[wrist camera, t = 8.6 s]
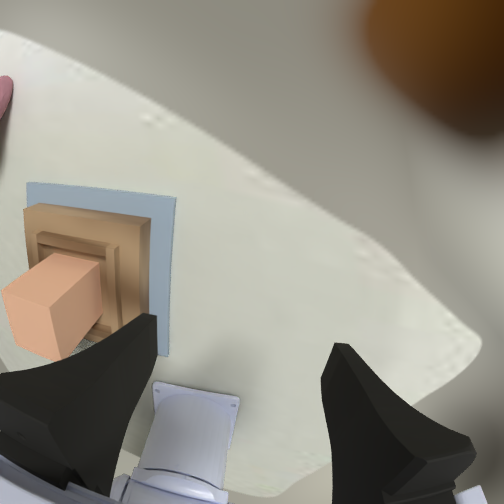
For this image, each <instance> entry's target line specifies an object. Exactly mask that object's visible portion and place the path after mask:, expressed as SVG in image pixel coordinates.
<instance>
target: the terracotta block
mask: <svg viewBox="0 0 504 504" xmlns="http://www.w3.org/2000/svg"><path fill="white" fill-rule="evenodd" d="M1 292H2V296H3V300H4V304H5V308H6V312H7V316H8V320H9V323H10V326H11V330H12V333H13V336H14V339H15V343H16V345H18V346H20V347H22V348H24V349H26V350H29V351H31V352H33V353H35V354H38V355H40V356H43V357H45V358H47V359H50V360H52V361H55V362H56V361H59V360H62V359H65V358H68V357H69V356H70V354H71V353H72V352H73V350H74V349H75V348H76V346H77V345H78V344H79V343H80V341H81V340H82V339H83V337H84V336H85V335H86V334H87V332H88V331H89V330H90V329H91V327H92V326H93V325H94V324H95V322H96V321H97V320H98V319H99V317H100V316H101V315H102V314H103V308H102V297H101V285H100V269H99V262H94V261H89V260H85V259H80V258H75V257H71V256H66V255H62V254H57V253H53V254H52V255H50V256H49V257H47V258H46V259H44V260H43V261H41V262H40V263H38V264H37V265H35V266H34V267H33V268H31V269H30V270H28V271H27V272H26V273H24V274H23V275H21V276H20V277H19V278H17V279H16V280H14V281H13V282H12V283H10V284H9V285H8V286H6V287H5V288H4V289H2V290H1Z"/></svg>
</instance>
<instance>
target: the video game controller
mask: <svg viewBox="0 0 504 504" xmlns="http://www.w3.org/2000/svg"><path fill="white" fill-rule="evenodd" d="M12 90H13V81H12V79H11V78H10V77H9V76H1V77H0V119H1V117H2V116H3V114H4V112H5V110H6V108H7V106H8V103H9V101H10V98H11V95H12Z"/></svg>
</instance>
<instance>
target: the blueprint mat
mask: <svg viewBox="0 0 504 504" xmlns="http://www.w3.org/2000/svg"><path fill="white" fill-rule="evenodd" d="M37 203H46V204H53V205H61V206H69V207H76V208H84V209H91V210H98V211H106V212H113V213H120V214H127V215H134V216H141V217H148V218H151V233H150V262H149V314H152V315H157V341H158V355H161V356H165V357H168V355H169V310H170V281H171V261H172V245H173V231H174V218H175V206H176V197H170V196H162V195H154V194H146V193H138V192H129V191H121V190H112V189H102V188H93V187H83V186H72V185H61V184H50V183H37V182H28V183H27V207H30V206H32V205H35V204H37Z"/></svg>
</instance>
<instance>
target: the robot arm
mask: <svg viewBox="0 0 504 504" xmlns="http://www.w3.org/2000/svg"><path fill="white" fill-rule="evenodd" d="M157 355H158V341H157V315H152V314H147V313H142V314H140V315H139V316H137V317H136V318H134V319H133V320H132V321H130V322H129V323H127V324H126V325H124V326H123V327H122V328H120V329H119V330H117V331H116V332H114V333H113V334H111V335H110V336H108V337H106V338H105V339H103V340H101V341H100V342H98V343H96V344H95V345H93V346H91V347H89V348H87V349H85V350H83V351H81V352H79V353H77V354H75V355H73V356H70V357H68V358H65V359H62V360H59V361H56V362H54V363H51V364H48V365H44V366H40V367H36V368H32V369H27V370H21V371H14V372H6V373H1V374H0V430H1V431H0V504H234V503H230V502H228V492H227V491H223V486H224V477H225V469H226V460H227V452H228V450H229V449H230V444H231V440H232V435H233V431H234V426H235V421H236V417H237V412H238V407H239V403H240V399H239V398H238V397H237V396H231V395H225V394H219V393H213V392H207V391H201V390H196V389H191V388H186V387H181V386H176V385H172V384H167V383H163V382H159V381H155V382H154V383H153V385H152V388H153V399H154V410H155V417H154V420H153V423H152V426H151V429H150V431H149V434H148V437H147V440H146V443H145V446H144V449H143V452H142V455H141V458H140V461H139V464H138V467H134V470H133V473H132V476H131V479H130V476H129V475H126V474H122V475H121V476H118V477H116V478H115V479H114V480H113V477H114V473H115V469H116V464H117V461H118V457H119V453H120V449H121V446H122V442H123V439H124V436H125V433H126V430H127V426H128V423H129V421H130V418H131V416H132V413H133V411H134V409H135V407H136V405H137V403H138V401H139V399H140V397H141V394H142V392H143V390H144V388H145V386H146V384H147V382H148V380H149V378H150V376H151V373H152V370H153V367H154V365H155V361H156V358H157ZM321 394H322V402H323V408H324V413H325V418H326V423H327V428H328V433H329V438H330V444H331V452H332V473H333V476H332V477H333V490H332V491H333V492H332V504H487V502H486V499H485V497H484V494H483V492H482V489H481V486H480V485H478V486H475V487H473V488H470V489H467V490H465V491H462V492H460V493H458V494H456V495H453V492H452V490H453V489H455V487H456V485H455V482H454V480H455V479H456V478H457V477H458V476H459V475H460V474H461V473H463V472H464V470H466V469H467V468H468V467H469V466H470V465H471V463H472V462H473V461H474V459H475V458H476V451H475V449H474V447H473V444H472V442H471V440H470V438H469V437H468V436H465V435H463V434H460V433H458V432H455V431H453V430H450V429H448V428H446V427H444V426H442V425H440V424H438V423H437V422H435V421H433V420H431V419H430V418H428V417H426V416H425V415H423V414H422V413H420V412H419V411H417V410H416V409H414V408H413V407H412V406H410V405H409V404H408V403H406V402H405V401H404V400H403V399H401V398H400V397H399V396H398V395H397V394H396V393H394V392H393V391H392V390H391V389H390V388H389V387H388V386H387V385H386V384H385V383H384V382H383V381H382V380H381V379H380V378H379V377H378V376H377V375H376V374H375V373H374V372H373V371H372V369H371V368H370V367H369V366H368V365H367V364H366V363H365V362H364V360H363V359H362V358H361V357H360V356H359V355H358V354H357V352H356V351H355V350H354V349H353V348H352V347H351V346H350V345H349V344H345V343H334V346H333V348H332V351H331V354H330V356H329V359H328V361H327V364H326V366H325V369H324V371H323V374H322V376H321Z"/></svg>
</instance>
